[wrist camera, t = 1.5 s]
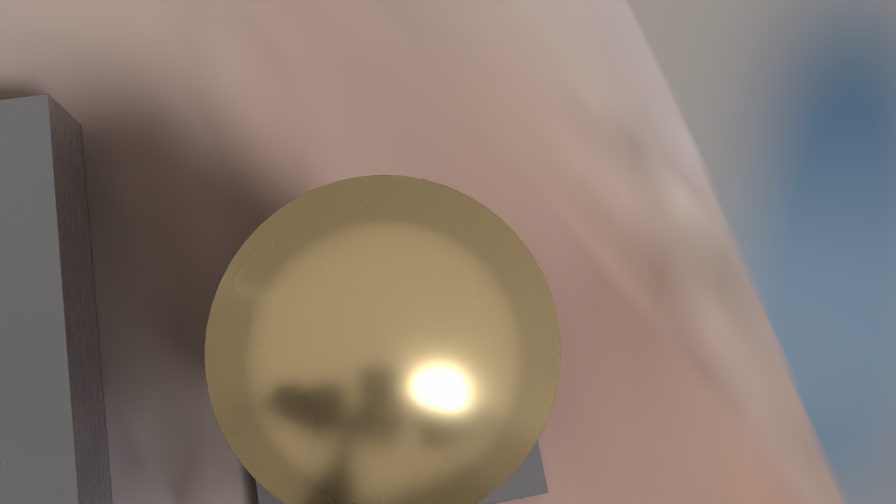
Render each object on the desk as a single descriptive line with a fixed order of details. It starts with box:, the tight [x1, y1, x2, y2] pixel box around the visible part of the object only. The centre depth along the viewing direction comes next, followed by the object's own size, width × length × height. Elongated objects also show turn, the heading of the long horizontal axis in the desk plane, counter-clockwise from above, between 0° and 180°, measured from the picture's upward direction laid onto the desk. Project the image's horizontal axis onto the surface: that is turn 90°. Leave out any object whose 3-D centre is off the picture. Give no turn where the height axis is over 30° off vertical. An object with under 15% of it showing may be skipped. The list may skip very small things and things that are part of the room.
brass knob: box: [204, 175, 560, 504], centre depth 14 cm, size 5×5×9 cm
